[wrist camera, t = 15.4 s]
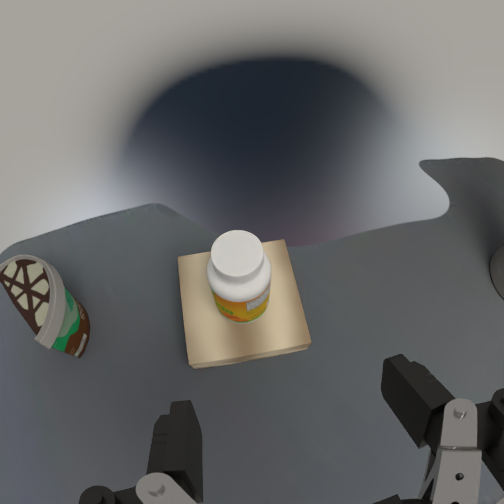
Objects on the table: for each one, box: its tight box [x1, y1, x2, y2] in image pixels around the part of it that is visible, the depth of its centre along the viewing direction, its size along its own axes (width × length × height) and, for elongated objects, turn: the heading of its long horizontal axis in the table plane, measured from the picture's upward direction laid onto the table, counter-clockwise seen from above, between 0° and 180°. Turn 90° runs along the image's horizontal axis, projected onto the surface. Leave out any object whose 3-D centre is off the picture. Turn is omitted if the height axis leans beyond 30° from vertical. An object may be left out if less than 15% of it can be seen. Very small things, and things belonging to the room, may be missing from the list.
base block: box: [178, 239, 312, 369], centre depth 33 cm, size 12×12×3 cm
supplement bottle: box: [207, 230, 272, 324], centre depth 28 cm, size 5×5×10 cm
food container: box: [0, 255, 90, 358], centre depth 30 cm, size 12×6×10 cm, turn 56°
